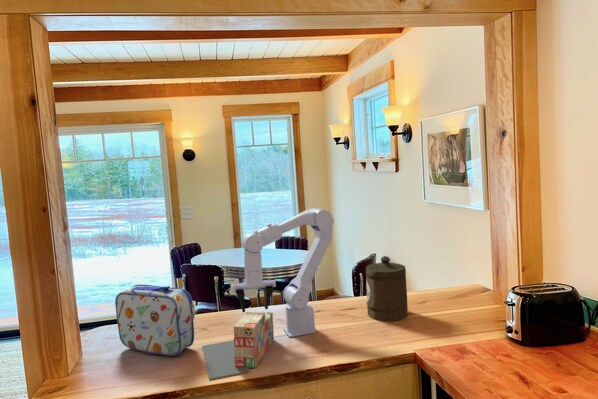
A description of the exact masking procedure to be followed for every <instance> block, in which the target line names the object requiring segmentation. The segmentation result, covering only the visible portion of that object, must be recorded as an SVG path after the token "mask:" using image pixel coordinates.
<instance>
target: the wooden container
mask: <svg viewBox="0 0 598 399" xmlns="http://www.w3.org/2000/svg"><path fill="white" fill-rule="evenodd" d="M390 261H391V259H390V257H389V256H387V255H385V256H382V257H381V258H380V262H375V263H371V264H368V265H367V266H366V267H365V277H366V278H365V279H366V280H365V281H366V284H365V286H366V306H367V307H366V308H367V309H366V310H367V315H368V317H369V318H371V319H373V320H377V321H383V322H394V321H400V320H403V319H405V318H407V316H408V315H409V312H408V311H409V308H408V291H407V278H406V277H407V276H406V274H407V272H406V271H407V270H406V266H405V265H404V264H401V263H398V262H397V263H395V262H390Z"/></svg>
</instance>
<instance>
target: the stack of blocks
mask: <svg viewBox="0 0 598 399" xmlns="http://www.w3.org/2000/svg"><path fill="white" fill-rule="evenodd" d="M274 336H275V335H274V315H273V312H265V311H264V312H262V311H261V312H260V311H255V312H248V311H247V312H245V314H244V315H242V317H241V318H240V319H239V320H238V322H236V323H235V325H233V340H234V347H235V367H247V369H248V368H252V369H255V368H256V367H257V366H258V364H259V363H260V361H261V360H262V358H264V356H265V353H266V351H267V350H268V348H269V347H270V346H271V344H272V343H273V341H274V339H275V337H274Z"/></svg>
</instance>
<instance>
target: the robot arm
mask: <svg viewBox="0 0 598 399" xmlns="http://www.w3.org/2000/svg"><path fill="white" fill-rule="evenodd" d="M334 222H335V220H334V218H333V214H332V213H331V211H329V210H327V209H321V208H318V207H311V208H309V209H305V210H303V211H302V212H300V213H298V214H297V215H294V216H292V217H291V218H288V219H287V220H285V221H283V222H281V223H280V224H276V223H275V222H274V223H270V222H269V223H266V226H264V227H263V228H261V229H258V230H257V229H255V230H254V231H253V233H252V232H251V233H247V234H246V233H245V235H243V238H242V240H241V242H240V244H241V246H242V248H243V255H244V256H243V262H244V263H243V265H244V282H240V283H234V284H231V291H232V292H234V293H235V294H236V295H237V298H238V300H239V303H240V307H241V311H242V313H246V305H245V296H246V295H245V290H254V289H263V296H264V297H263V300H264V301H263V306H264V309H265V310H268V309H269V303H270V301H271V297H272V294H273V293H274V288H276V287H277V285H276V284H277V283H276V282H277V281H276V280H274V279H271V280H270V279H267V280H266V279H265V280H263V267H262V266H263V264H262V262H263V261H262V250H263V248H264V247H266V246H268V245H270V244H272V243H276V242H277V241H278V240H281V239H282V236H283V234H285V233H287V232H289V231H293V230H294V229H297V228H299V227H301V226H310V227H311V228H312V230H313V232H314V235H315V238H314V240H313V242H312V244H311V247H310V249H309V250H308V252H307V254H306V256H305V259H304V260H303V263H301V266H300V268H299V271H298V273H297V275H296V277H294V278H293V279H291V281H290V282H289V284H288V285H287V286H285V288H284V289H283V292H282V297H283V299H284V300H285V317H286V319H285V320H286V327H283V330H284V332H285V333H286V334H287V336H288V337H290V338H293V337H300V336H304V335H310V334H315V333H316V332H317V331H316V326H315V325H316V324H315V311H314V308H313V306H312V305H311V304H309V301H310V300H309V297H310V293H311V283H312V281H313V279H314V277H315V275H316V273H317V271H318V268H319V267H320V265H321V262H322V260H323V258H324V256H325V254H326V252H327V250H328V248H329V246H330V244H331V242H332V240H333V224H334Z"/></svg>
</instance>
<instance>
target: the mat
mask: <svg viewBox="0 0 598 399" xmlns="http://www.w3.org/2000/svg"><path fill="white" fill-rule="evenodd" d="M201 348H202V351H203V356H204V360H205V365H206V371H207V375H209V376H208V380H209V381H212V379H213V380H218V379H223V378H222V377H224V378H228V377H227V376H229V377H232V375H234V376H238V375H237V374H239V375H243V374H242V373H244V374H248V372H249V373H250V370H249V369H248V367H235V347H234V339H233V340H227V341H222V342H217V343H210V344H204V345H201ZM217 378H218V379H217Z"/></svg>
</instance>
